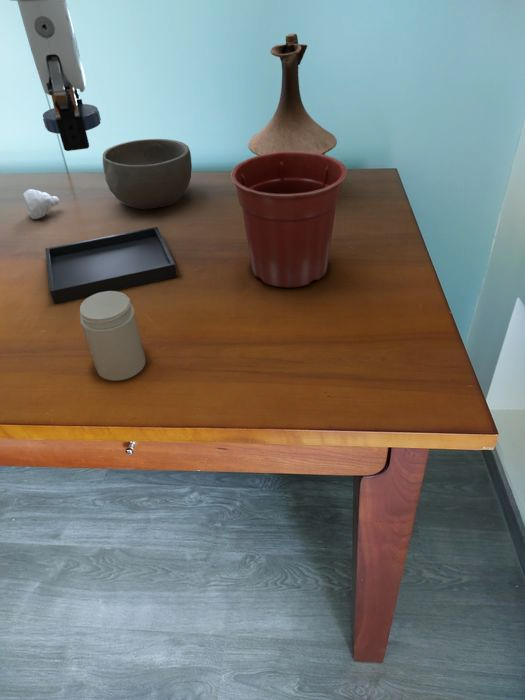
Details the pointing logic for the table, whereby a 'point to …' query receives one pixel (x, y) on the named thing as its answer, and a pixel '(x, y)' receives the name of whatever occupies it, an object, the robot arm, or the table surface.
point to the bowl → (148, 172)
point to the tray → (108, 264)
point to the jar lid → (86, 110)
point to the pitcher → (291, 112)
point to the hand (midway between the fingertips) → (77, 138)
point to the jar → (112, 335)
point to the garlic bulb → (39, 203)
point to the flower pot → (289, 213)
